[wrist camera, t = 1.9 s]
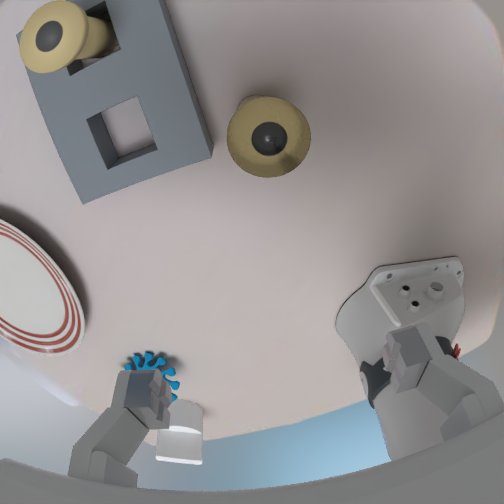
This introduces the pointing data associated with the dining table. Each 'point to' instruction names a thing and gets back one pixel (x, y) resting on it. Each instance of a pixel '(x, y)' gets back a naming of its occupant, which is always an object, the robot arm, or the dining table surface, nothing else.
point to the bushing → (268, 136)
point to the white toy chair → (182, 434)
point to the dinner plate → (36, 298)
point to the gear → (159, 362)
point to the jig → (112, 89)
